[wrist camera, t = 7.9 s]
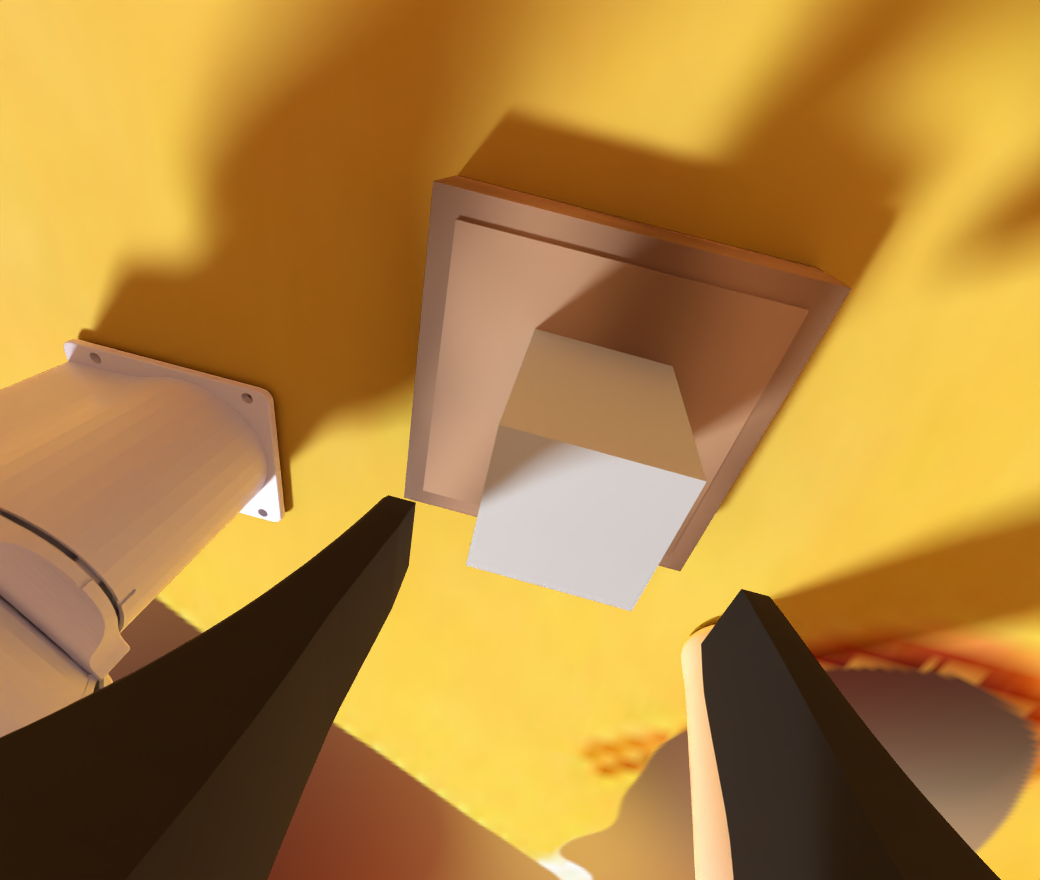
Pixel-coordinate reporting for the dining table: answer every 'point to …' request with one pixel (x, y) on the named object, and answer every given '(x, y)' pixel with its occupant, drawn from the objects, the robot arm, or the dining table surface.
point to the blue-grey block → (587, 472)
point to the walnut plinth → (599, 330)
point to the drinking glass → (704, 773)
